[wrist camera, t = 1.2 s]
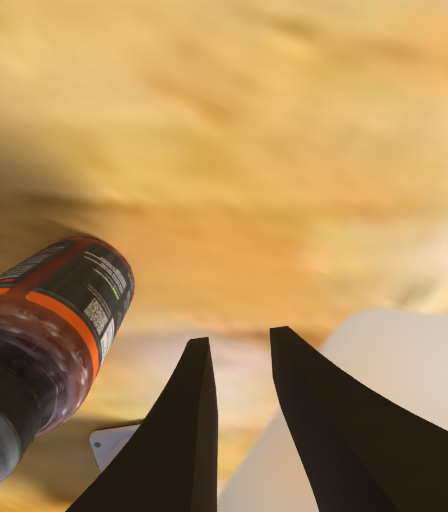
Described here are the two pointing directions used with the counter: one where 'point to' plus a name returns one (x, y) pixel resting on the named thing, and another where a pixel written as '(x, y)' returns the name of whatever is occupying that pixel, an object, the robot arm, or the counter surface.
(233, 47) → the counter surface
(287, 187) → the counter surface
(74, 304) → the supplement bottle
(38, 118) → the counter surface
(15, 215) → the counter surface
